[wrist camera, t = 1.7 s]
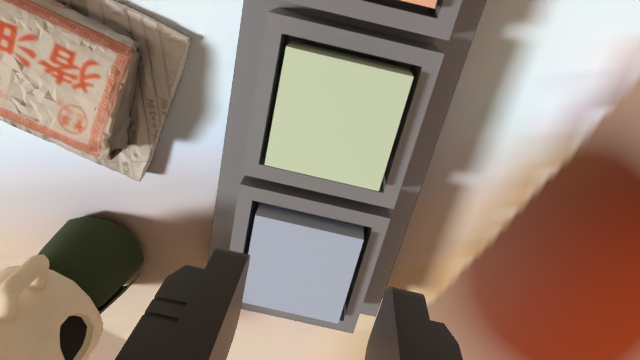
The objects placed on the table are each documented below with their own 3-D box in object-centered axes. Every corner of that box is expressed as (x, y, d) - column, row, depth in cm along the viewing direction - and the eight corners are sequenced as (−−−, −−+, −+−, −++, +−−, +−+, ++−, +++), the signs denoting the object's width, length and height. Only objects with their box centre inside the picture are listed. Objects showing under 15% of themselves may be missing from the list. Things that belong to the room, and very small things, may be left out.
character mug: (136, 318, 36) (27, 487, 24) (47, 287, 35) (-110, 446, 23) (168, 205, 31) (55, 344, 20) (67, 167, 31) (-114, 287, 19)
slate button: (262, 198, 26) (255, 215, 24) (363, 221, 26) (363, 239, 25) (246, 280, 29) (239, 301, 27) (339, 301, 29) (338, 323, 27)
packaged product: (-202, 70, 25) (-208, -130, 21) (-117, 56, 29) (-109, -111, 25) (117, 206, 27) (167, 47, 23) (151, 174, 31) (197, 36, 27)
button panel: (283, -222, 21) (264, -276, 17) (530, -160, 22) (576, -196, 17) (213, 261, 33) (190, 307, 28) (374, 298, 33) (377, 349, 29)
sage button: (291, 40, 23) (286, 46, 21) (409, 68, 23) (413, 76, 21) (271, 151, 25) (264, 164, 23) (377, 175, 25) (378, 191, 23)
